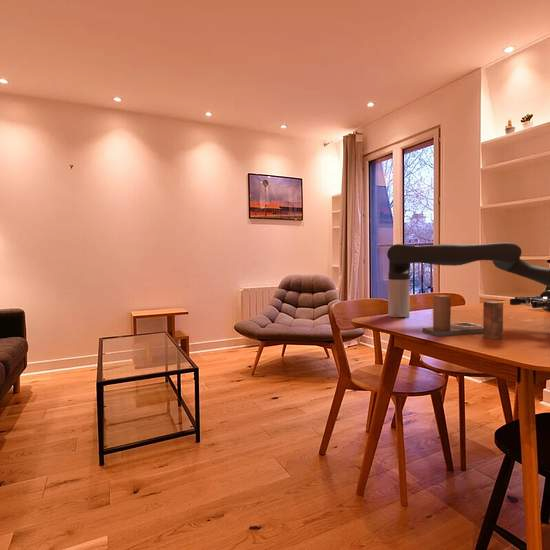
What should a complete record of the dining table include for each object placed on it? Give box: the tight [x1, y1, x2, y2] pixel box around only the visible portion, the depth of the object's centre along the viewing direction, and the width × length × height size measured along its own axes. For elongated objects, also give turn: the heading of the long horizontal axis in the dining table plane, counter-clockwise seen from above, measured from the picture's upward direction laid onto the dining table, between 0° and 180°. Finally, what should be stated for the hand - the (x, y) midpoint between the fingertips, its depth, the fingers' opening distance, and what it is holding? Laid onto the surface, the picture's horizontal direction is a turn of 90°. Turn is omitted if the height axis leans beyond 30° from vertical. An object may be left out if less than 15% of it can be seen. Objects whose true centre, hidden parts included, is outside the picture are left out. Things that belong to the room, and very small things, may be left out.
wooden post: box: [482, 300, 504, 340], centre depth 124 cm, size 4×4×12 cm
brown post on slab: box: [421, 294, 483, 337], centre depth 133 cm, size 20×8×14 cm, turn 104°
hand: (521, 303), depth 126 cm, fingers open, 8 cm apart
